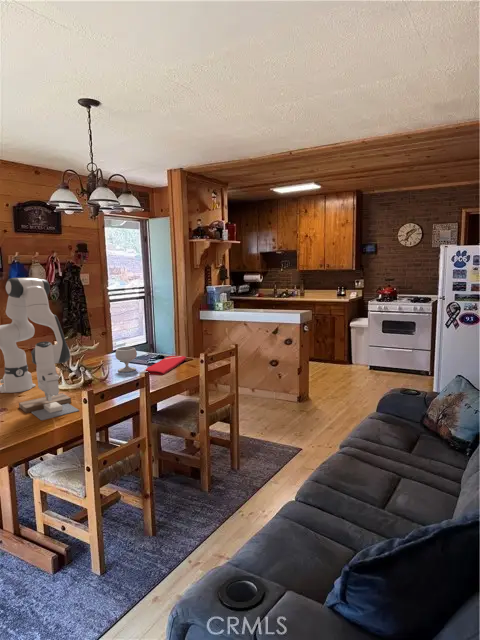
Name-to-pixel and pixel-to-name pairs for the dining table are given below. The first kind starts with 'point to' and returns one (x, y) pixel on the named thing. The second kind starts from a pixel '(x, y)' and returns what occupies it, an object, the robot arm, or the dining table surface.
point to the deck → (43, 402)
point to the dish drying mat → (165, 365)
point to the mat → (44, 414)
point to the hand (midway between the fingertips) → (49, 400)
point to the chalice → (126, 357)
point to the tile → (53, 407)
